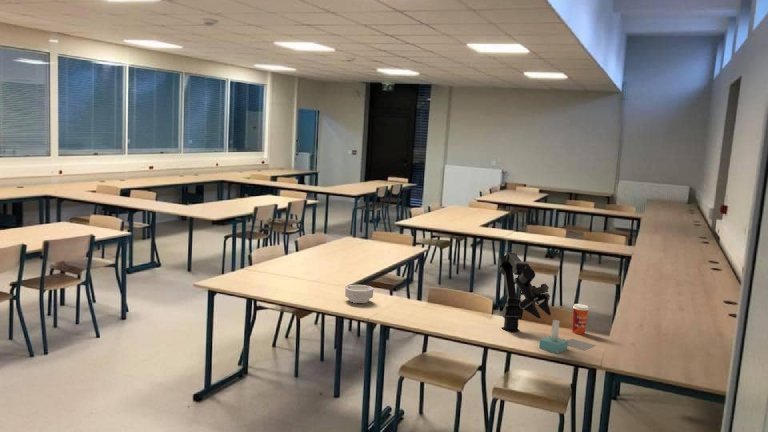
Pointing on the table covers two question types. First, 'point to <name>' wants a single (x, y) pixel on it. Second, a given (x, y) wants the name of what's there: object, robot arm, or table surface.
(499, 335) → the table surface
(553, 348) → the teal cover
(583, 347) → the grey mat
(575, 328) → the paper cup
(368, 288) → the light grey bowl
